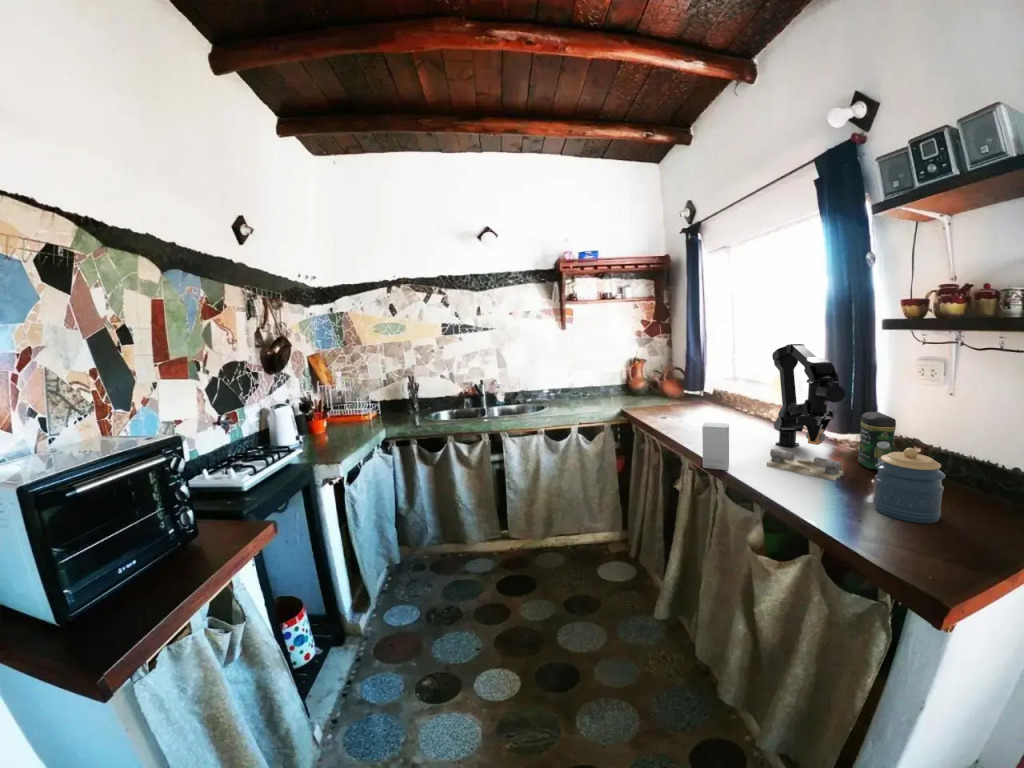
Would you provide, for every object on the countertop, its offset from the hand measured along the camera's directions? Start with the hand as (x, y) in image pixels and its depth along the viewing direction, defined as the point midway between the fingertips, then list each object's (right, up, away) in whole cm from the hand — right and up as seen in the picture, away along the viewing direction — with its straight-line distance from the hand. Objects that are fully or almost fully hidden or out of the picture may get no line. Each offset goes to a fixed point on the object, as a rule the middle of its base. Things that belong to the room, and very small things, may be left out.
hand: (815, 439), depth 148 cm
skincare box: (-36, -10, +1) cm, 37 cm away
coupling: (0, -1, 0) cm, 1 cm away
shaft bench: (-9, -9, -6) cm, 14 cm away
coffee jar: (+16, -8, -6) cm, 19 cm away
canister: (-5, -14, -39) cm, 42 cm away
